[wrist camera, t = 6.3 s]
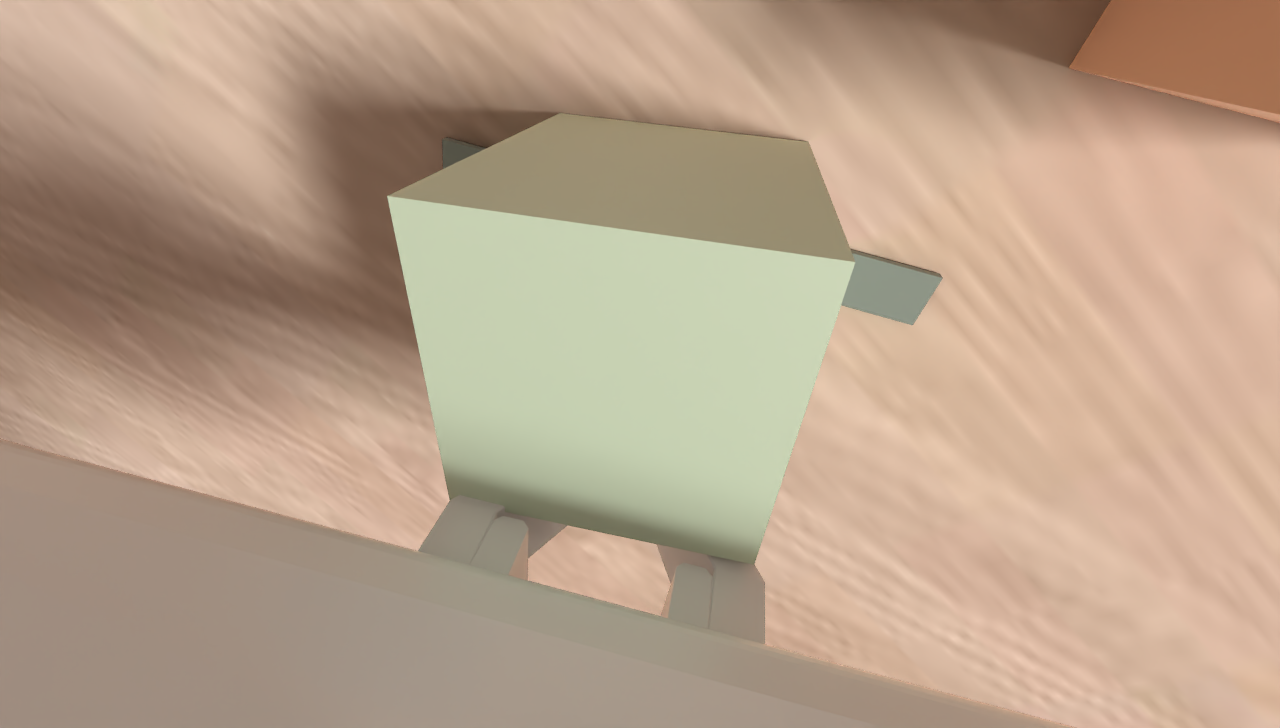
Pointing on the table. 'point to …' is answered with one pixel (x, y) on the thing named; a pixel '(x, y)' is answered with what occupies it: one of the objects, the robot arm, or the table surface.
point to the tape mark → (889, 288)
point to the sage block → (624, 323)
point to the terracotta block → (1192, 51)
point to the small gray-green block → (457, 151)
